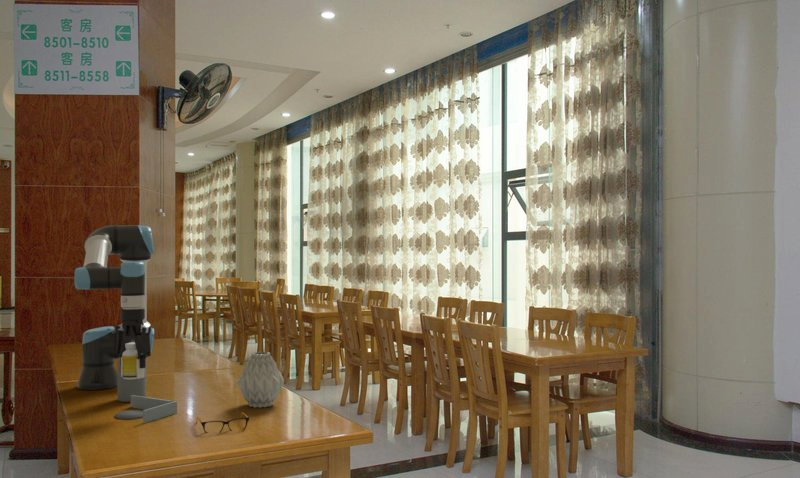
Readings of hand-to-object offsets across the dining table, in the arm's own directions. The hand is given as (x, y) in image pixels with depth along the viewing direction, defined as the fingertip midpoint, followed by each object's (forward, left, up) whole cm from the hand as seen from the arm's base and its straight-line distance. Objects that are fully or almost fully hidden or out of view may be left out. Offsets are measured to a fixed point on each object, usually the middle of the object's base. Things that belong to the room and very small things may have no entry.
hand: (132, 376), depth 226 cm
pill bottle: (0, 0, -1) cm, 1 cm away
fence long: (0, +8, -13) cm, 15 cm away
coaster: (0, 0, -13) cm, 13 cm away
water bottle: (-18, +16, -13) cm, 27 cm away
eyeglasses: (+35, +4, -13) cm, 38 cm away
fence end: (+11, +2, -13) cm, 17 cm away
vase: (+30, +30, -13) cm, 44 cm away
